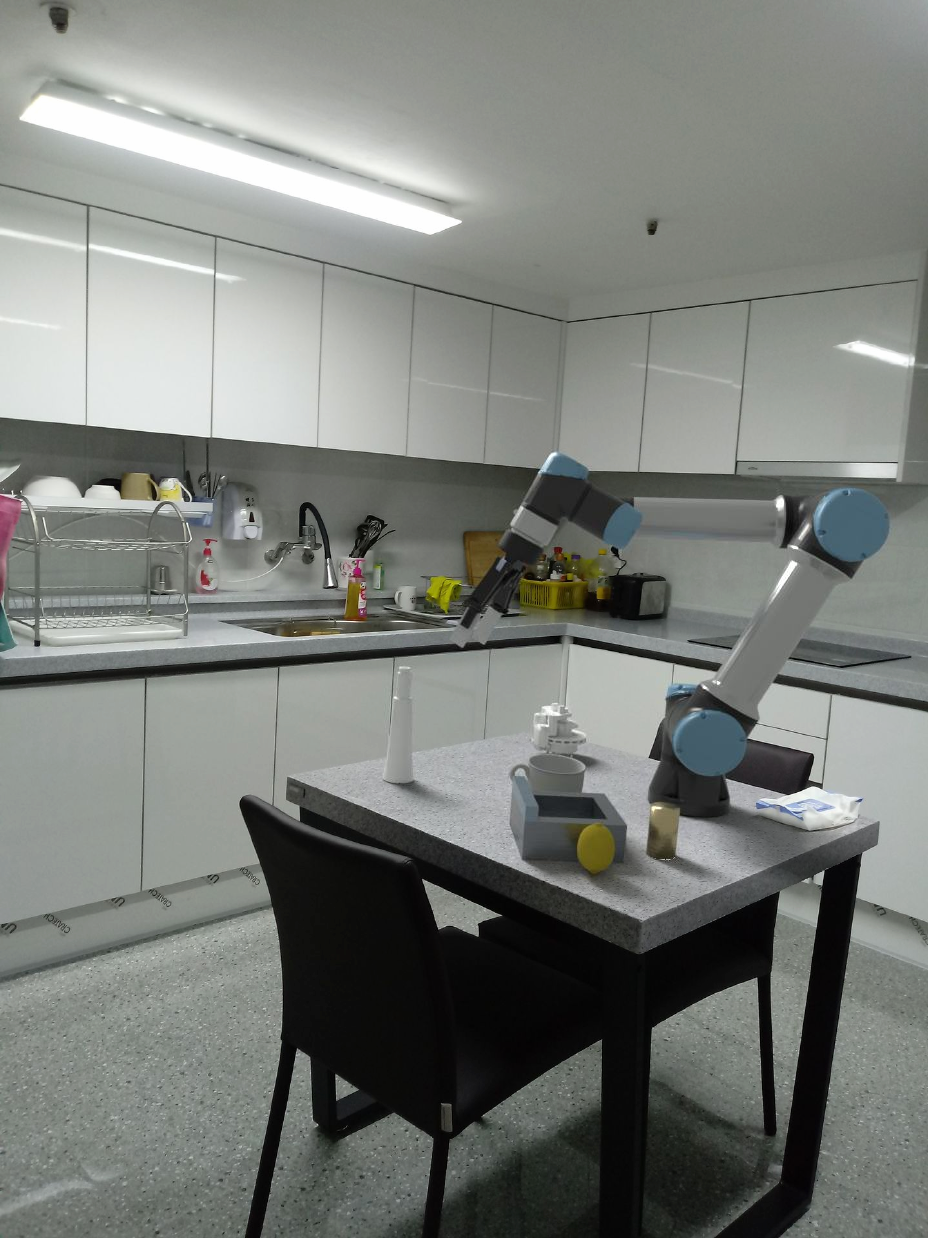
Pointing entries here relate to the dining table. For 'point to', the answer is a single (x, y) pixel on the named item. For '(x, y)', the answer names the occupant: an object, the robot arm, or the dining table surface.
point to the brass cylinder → (663, 830)
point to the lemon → (596, 848)
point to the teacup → (552, 773)
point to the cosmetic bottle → (400, 733)
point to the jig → (560, 821)
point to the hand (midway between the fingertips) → (467, 642)
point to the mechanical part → (556, 731)
